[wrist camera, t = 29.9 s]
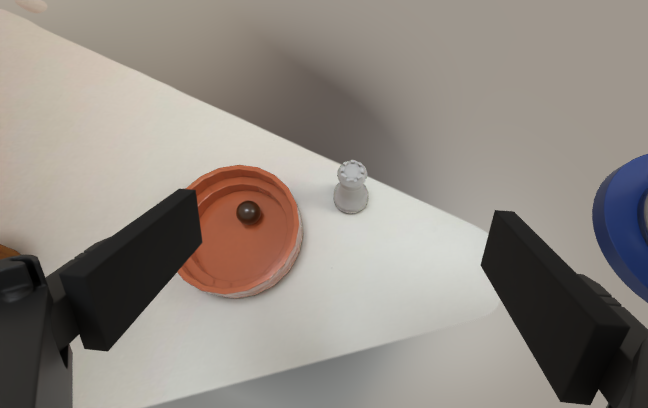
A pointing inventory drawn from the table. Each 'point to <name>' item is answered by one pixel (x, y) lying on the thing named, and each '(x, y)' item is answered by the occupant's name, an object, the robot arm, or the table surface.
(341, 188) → the rook chess piece
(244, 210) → the bead
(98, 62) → the table surface
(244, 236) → the bowl
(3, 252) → the disposable coffee cup
